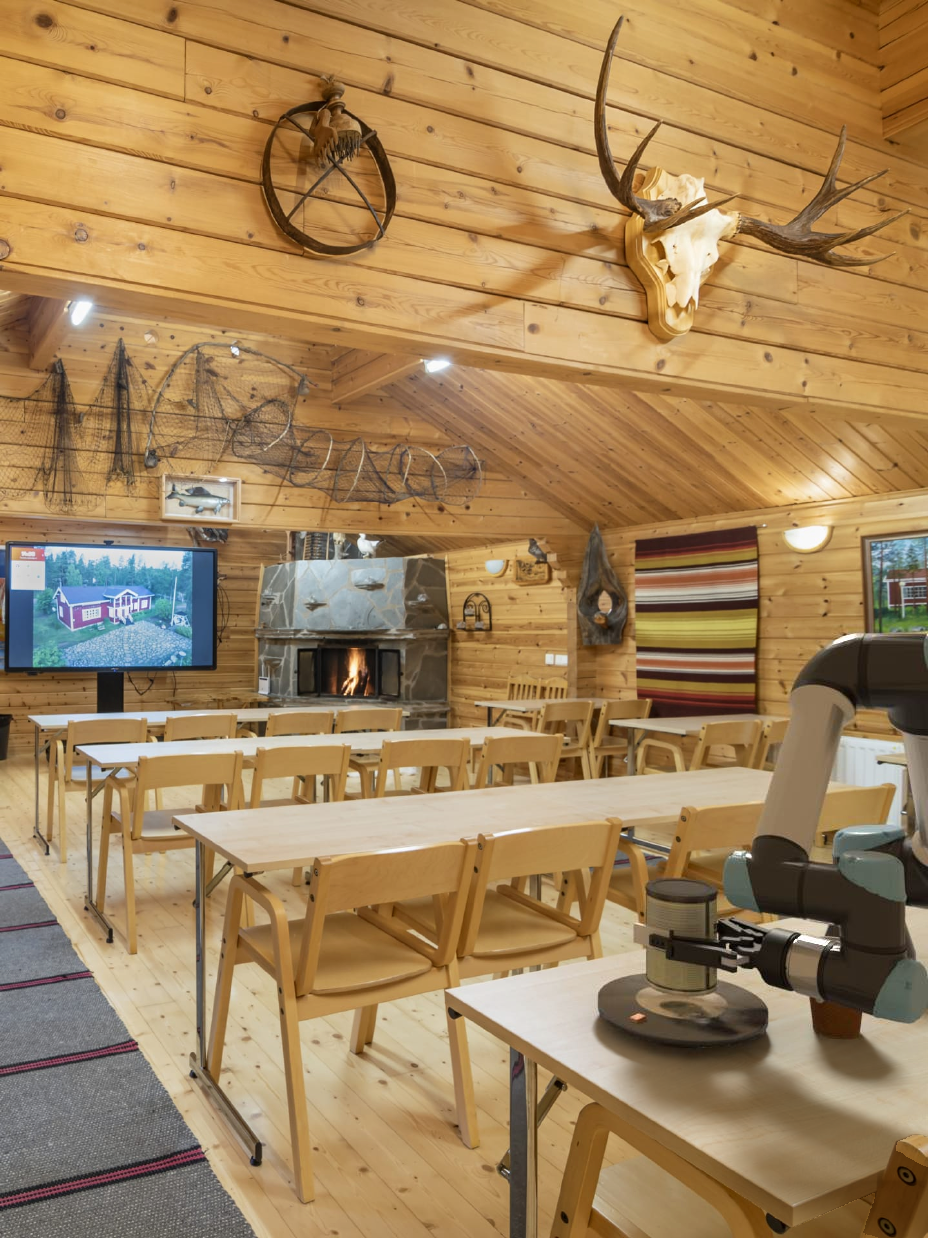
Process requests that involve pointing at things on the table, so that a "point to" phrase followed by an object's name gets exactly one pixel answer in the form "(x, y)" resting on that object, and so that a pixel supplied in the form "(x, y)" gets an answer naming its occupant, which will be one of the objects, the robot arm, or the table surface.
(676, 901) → the coffee can
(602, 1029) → the table surface
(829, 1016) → the disposable coffee cup
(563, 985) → the table surface
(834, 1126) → the table surface
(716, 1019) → the turntable platter
